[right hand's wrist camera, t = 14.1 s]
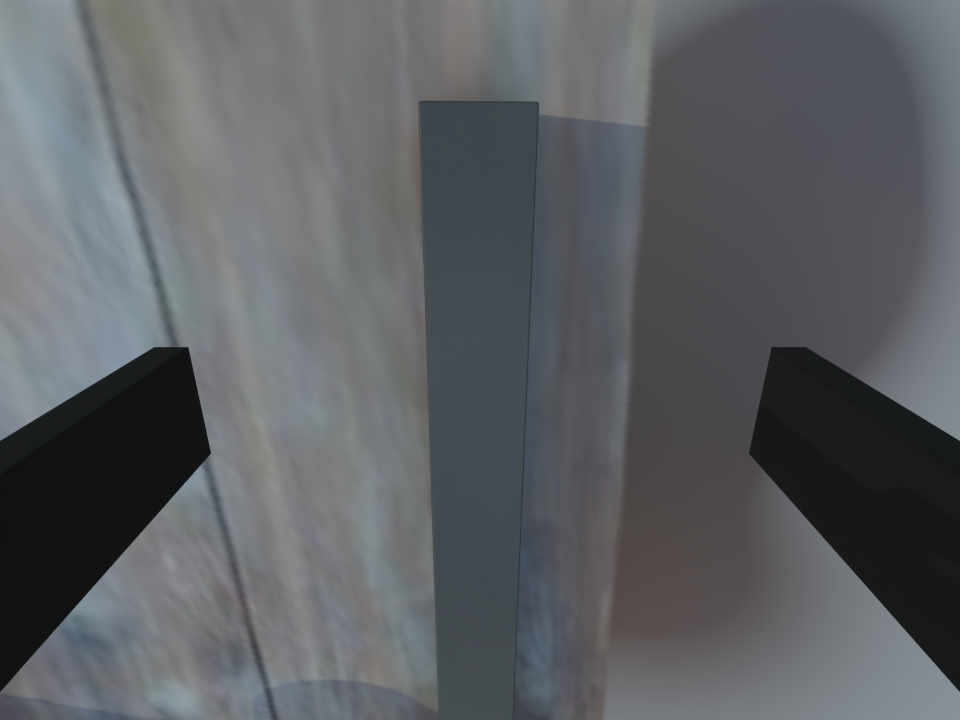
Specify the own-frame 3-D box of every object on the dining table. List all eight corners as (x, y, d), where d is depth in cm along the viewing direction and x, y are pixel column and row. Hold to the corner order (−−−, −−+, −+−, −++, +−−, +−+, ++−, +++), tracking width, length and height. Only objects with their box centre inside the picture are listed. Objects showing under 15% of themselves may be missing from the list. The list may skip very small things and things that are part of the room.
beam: (432, 112, 32) (418, 100, 25) (525, 112, 32) (539, 101, 25) (449, 829, 58) (445, 929, 51) (501, 829, 59) (504, 929, 51)
